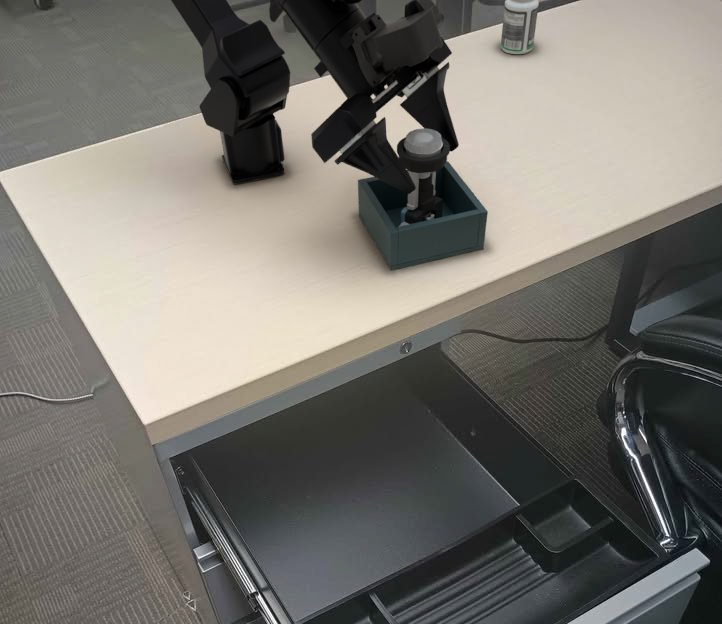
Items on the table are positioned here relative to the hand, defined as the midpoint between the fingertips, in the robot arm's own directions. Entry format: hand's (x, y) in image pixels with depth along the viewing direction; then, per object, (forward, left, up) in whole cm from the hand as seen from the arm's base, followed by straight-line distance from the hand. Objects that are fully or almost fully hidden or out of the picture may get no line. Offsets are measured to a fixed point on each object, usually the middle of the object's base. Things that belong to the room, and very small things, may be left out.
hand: (434, 169), depth 77 cm
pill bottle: (+29, +39, -8) cm, 49 cm away
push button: (-1, +1, -7) cm, 8 cm away
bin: (-1, +1, -8) cm, 8 cm away
